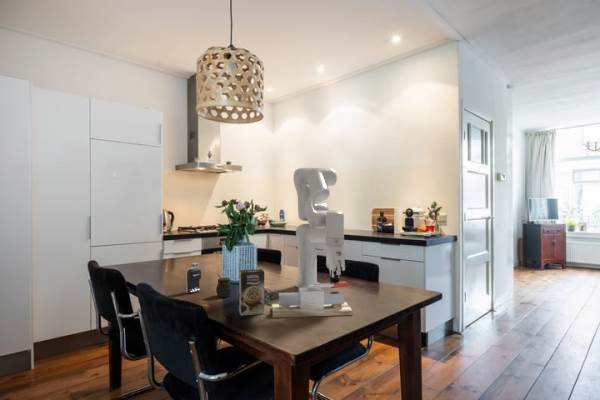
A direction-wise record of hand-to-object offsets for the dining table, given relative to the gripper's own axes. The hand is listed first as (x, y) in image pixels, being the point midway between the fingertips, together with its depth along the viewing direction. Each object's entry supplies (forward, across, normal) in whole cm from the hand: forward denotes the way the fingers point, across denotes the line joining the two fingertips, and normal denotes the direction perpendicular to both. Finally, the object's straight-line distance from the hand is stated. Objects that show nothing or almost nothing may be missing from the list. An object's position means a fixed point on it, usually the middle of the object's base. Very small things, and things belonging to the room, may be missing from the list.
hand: (334, 287), depth 142 cm
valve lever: (-1, -3, +4) cm, 6 cm away
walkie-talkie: (+9, +19, +25) cm, 33 cm away
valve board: (+8, -3, +11) cm, 14 cm away
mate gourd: (+9, +29, +43) cm, 53 cm away
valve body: (+6, -3, +11) cm, 13 cm away
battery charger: (+9, +40, +57) cm, 70 cm away
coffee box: (+8, +1, +33) cm, 34 cm away
